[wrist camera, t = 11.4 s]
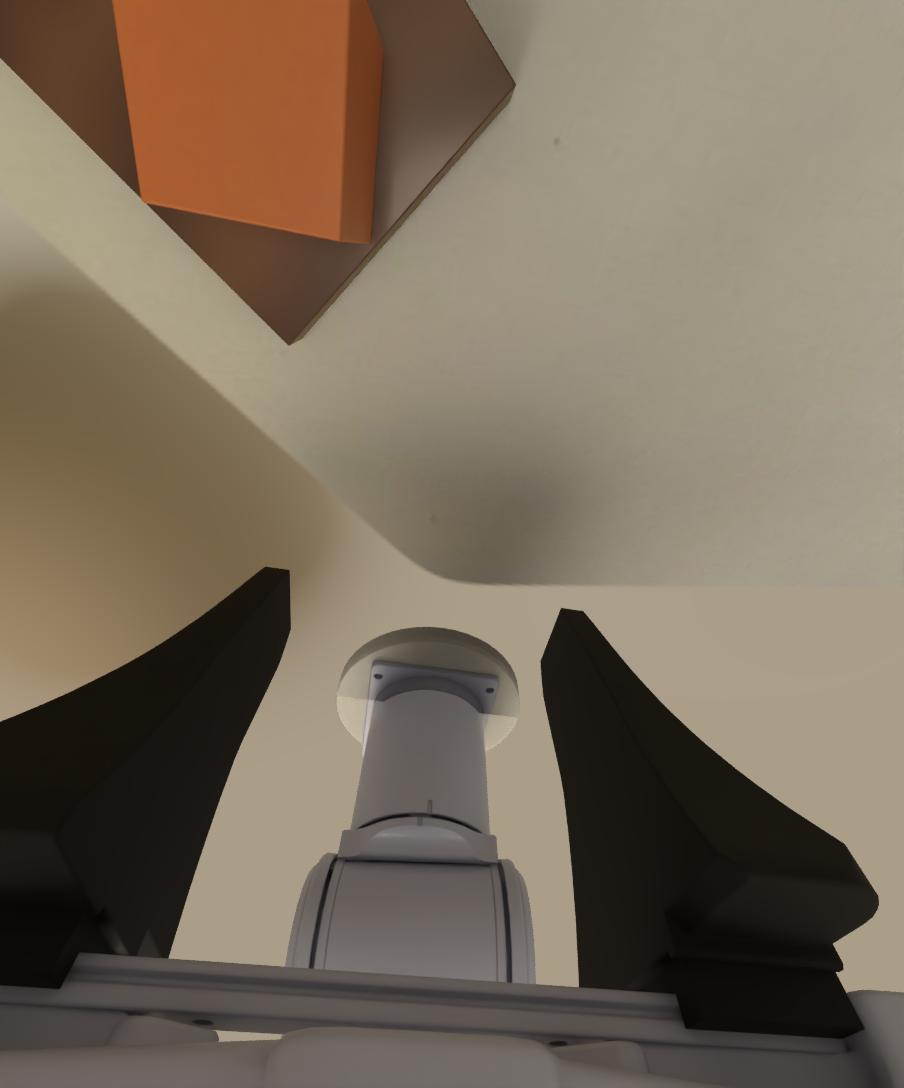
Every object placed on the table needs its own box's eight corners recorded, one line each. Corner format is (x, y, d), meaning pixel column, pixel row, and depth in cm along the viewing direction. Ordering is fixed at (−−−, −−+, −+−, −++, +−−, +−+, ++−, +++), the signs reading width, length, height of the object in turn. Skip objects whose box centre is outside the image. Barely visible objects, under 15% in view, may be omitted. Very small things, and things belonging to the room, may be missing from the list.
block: (371, 245, 15) (340, 242, 11) (224, 215, 14) (139, 202, 11) (384, 45, 12) (351, -47, 9) (209, 4, 12) (93, -112, 8)
